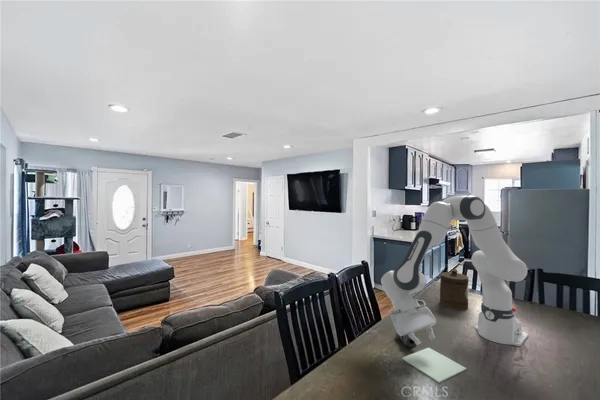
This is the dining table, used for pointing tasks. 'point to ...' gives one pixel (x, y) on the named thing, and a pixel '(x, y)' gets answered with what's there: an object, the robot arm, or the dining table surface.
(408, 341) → the grey metal vase shape
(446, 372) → the mat
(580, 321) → the dining table surface
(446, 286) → the wooden container
